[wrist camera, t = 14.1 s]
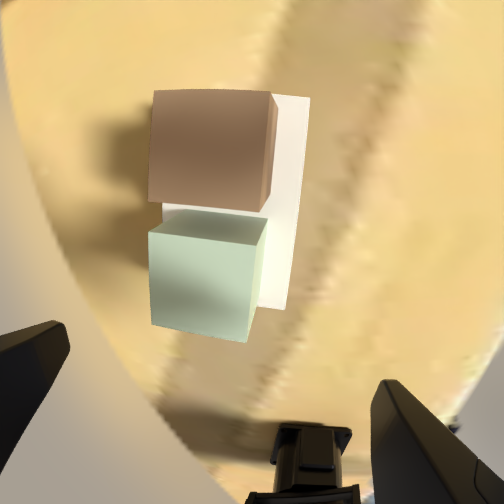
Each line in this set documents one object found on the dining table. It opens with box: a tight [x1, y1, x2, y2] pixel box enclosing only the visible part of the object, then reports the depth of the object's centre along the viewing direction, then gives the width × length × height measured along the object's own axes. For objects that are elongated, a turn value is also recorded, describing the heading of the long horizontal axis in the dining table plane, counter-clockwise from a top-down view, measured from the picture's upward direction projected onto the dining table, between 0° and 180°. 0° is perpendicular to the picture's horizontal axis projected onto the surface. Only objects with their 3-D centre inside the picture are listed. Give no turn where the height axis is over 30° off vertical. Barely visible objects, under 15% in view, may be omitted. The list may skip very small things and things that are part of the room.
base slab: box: [162, 94, 310, 310], centre depth 17 cm, size 11×7×3 cm, turn 175°
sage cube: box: [148, 209, 268, 343], centre depth 14 cm, size 4×4×4 cm
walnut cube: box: [148, 89, 278, 213], centre depth 12 cm, size 4×4×4 cm
